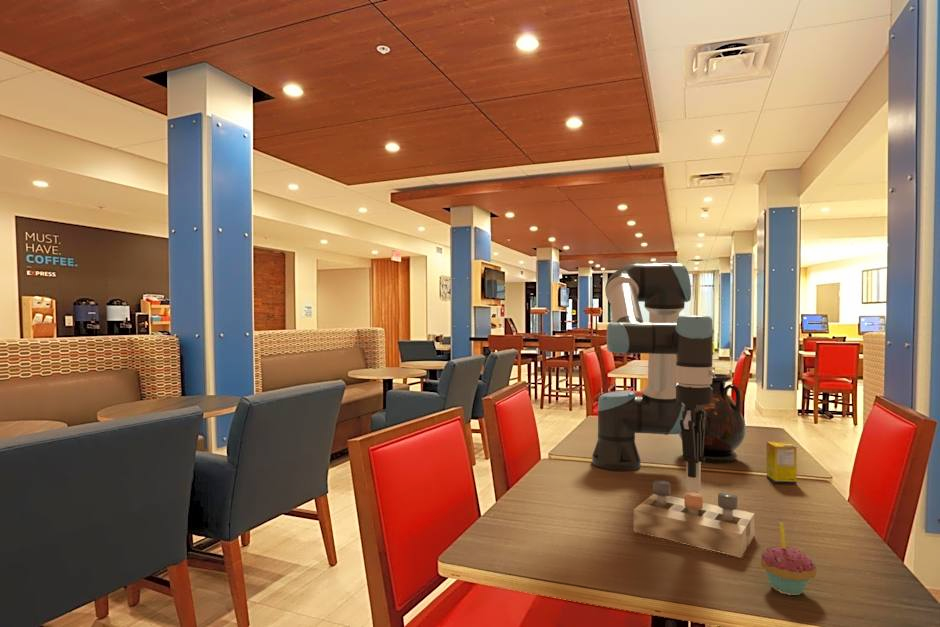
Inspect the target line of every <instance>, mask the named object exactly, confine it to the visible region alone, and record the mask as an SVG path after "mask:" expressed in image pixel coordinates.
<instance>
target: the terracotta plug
mask: <svg viewBox="0 0 940 627" xmlns="http://www.w3.org/2000/svg"><path fill="white" fill-rule="evenodd" d="M683 495H684V496H683V497H684V498H683V499H684V506H685V507H687V508H689V514H692V515H696V516H698V509H702V508H703V503H704V502H703V501H704V496H703V495H702V494H700V493H698V492H685V493H684V494H683Z"/></svg>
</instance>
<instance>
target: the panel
mask: <svg viewBox="0 0 940 627" xmlns="http://www.w3.org/2000/svg"><path fill="white" fill-rule="evenodd" d="M634 531H637V532H640V533H639V534H641V533H645V534H649V535H653V536H657V537H662V538H666V539H670V540H674V541H678V542H682V543H686V544H690V545H694V546H699V547H703V548H707V549H711V550H715V551H720V552H725V553H729V554H733V555H736V556H742V555H743V553H744V551H745V550H746V548H747V546H748V545H749V543H750V541H751V540H752V541H753V539H754V537H755V512H749V511H747V510H746V511H745V510H741V509H736V510H733V520H731V521H729V520H724V519H723V508H720V507H719V506H718V505H715V504H711V503H707V502H706V503H705V502H703V508H702V509H698V516H696V515H692V514H689V508H687V507H685V506H684V498H681V497H676V496H671V495H669V496H666V506H659V505H657V495H656V494H654V493H653V494H650V496H649V497H647V498H646V499H645V500H643V501H642V502H641V503H640V504H638V505H637V506H636V507H634V509H633V532H634ZM637 532H636V533H637ZM645 534H644V535H645ZM649 535H648V536H649ZM653 536H652V537H653ZM753 536H754V537H753ZM752 538H753V539H752ZM752 541H751V542H752ZM750 544H751V543H750ZM749 546H750V545H749ZM749 546H748V547H749ZM747 549H748V548H747ZM746 551H747V550H746ZM744 554H745V553H744ZM743 556H744V555H743Z"/></svg>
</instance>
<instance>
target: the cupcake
mask: <svg viewBox="0 0 940 627" xmlns="http://www.w3.org/2000/svg"><path fill="white" fill-rule="evenodd" d="M784 526H785V525H784V522H783V520H782V518H781V517H780V518H779V532H780V534H779V535H780V536H779V537H780V544H781V546H780V545H777V546H773V547H768V548H766V549H765V550H764V551H762V553H761V558H760V565H761V567H762V568H763V569H764V570H765V572H766V574H767V576H768V580H769V583H770V585H772V586H773V587H774V588H776V589H777V590H780V591H782V592H786V593H790V594H799V593H802V594H803V592H804V589H805V586H806V584H807V582H808V581H809V579H813V578H815V577H816V575H817V568H816V563H814V561H812V559H811V558H809V557H808V556H807V555H806V554H805V553H803V552H801V551H800V550H797V549H795V548H791V547H789V546H787V547H786V536H785V528H784ZM772 586H771V587H772Z"/></svg>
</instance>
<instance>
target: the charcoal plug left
mask: <svg viewBox="0 0 940 627" xmlns="http://www.w3.org/2000/svg"><path fill="white" fill-rule="evenodd" d="M671 485H672V484H671V482H669V481H667V480H653V482H652V493H653V494H656V495H657V505H659V506H666V496H671V492H672V491H671Z"/></svg>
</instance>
